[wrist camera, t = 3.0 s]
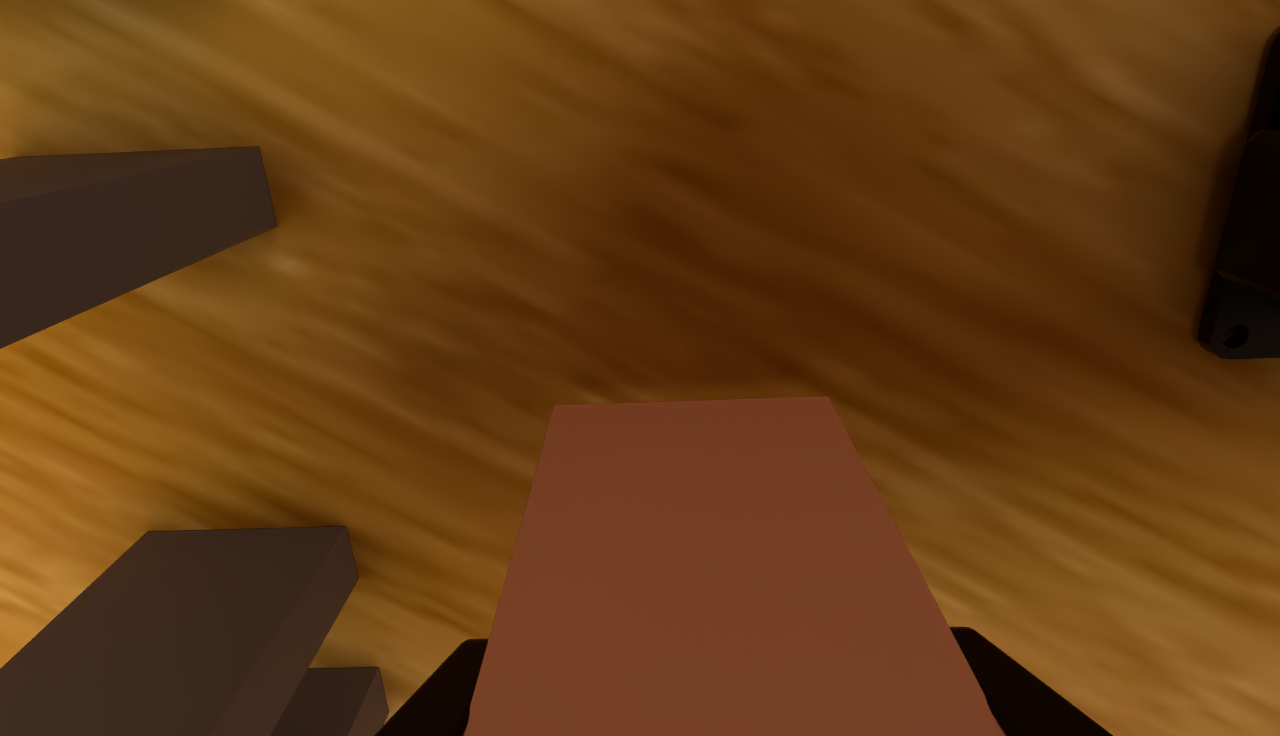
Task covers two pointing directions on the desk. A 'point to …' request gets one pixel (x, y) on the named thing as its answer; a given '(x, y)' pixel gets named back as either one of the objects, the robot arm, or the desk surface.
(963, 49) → the desk surface
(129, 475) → the desk surface
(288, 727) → the domino
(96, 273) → the domino
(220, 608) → the domino
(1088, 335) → the desk surface
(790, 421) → the domino
